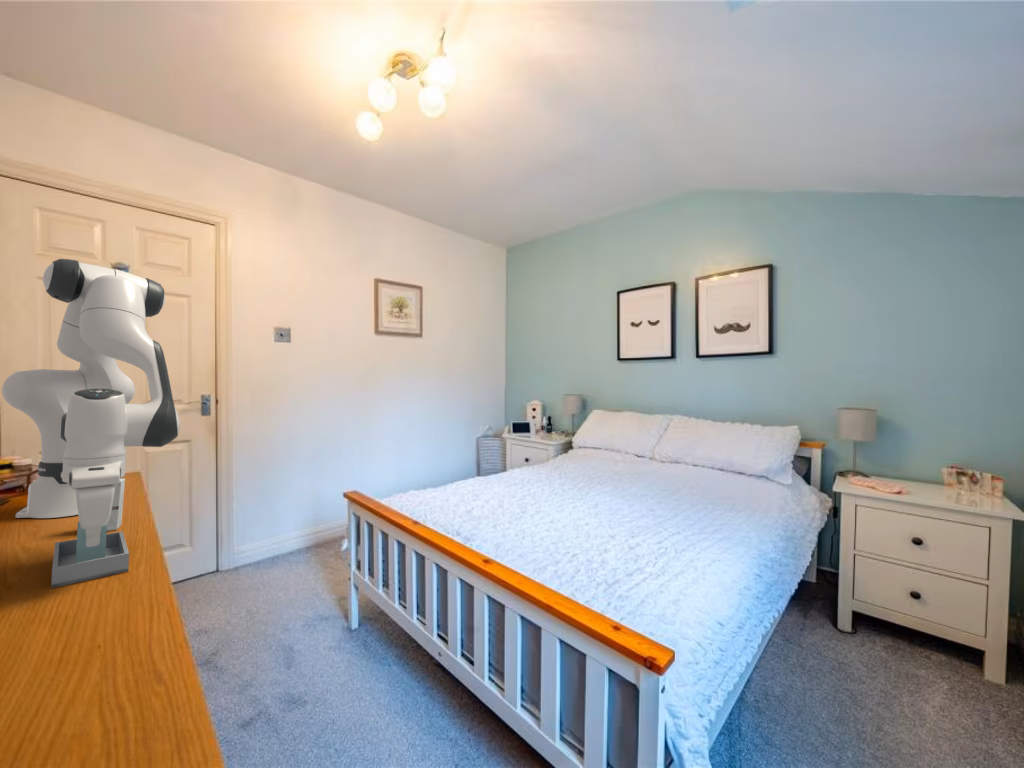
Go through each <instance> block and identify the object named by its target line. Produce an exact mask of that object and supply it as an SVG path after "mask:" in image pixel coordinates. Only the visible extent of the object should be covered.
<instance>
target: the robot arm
mask: <svg viewBox="0 0 1024 768" xmlns="http://www.w3.org/2000/svg"><path fill="white" fill-rule="evenodd" d="M42 277H43V278H42V282H43V285H44V287H45V291H46V293H47V295H49V296H50V297H51V298H53V299H56V300H58V301H60V302H63V303H67V304H68V305H67V306H66V310H65V312H64V314H63V315H64V316H63V319H62V322H61V326H60V329H59V334H58V338H57V341H56V345H57V349H58V350H59V351H60V353H61V354H62V355H64V356H65V357H67V358H70V359H71V360H73V361H76V362H77V363H79V364H80V365H79V368H78V369H75V370H74V369H73V370H69V369H45V368H41V369H39V368H38V369H30V370H22V371H15V372H13V373H12V374H11V375H9V376H8V377H7V378H6V379H5V381H4V382H3V385H2V388H1V392H2V393H1V394H2V396H3V399H4V400H5V402H6V403H7V404H8V405H10V406H11V407H13V408H14V409H16V410H18V411H21V413H24V414H25V415H27V417H29V418H30V419H31V420H32V421H33V422H34V423H35V425H36V427H37V429H38V430H39V433H40V443H41V444H40V445H41V460H40V461H39V462H38V465H37V475H38V477H37V479H35V480H34V481H33V482H31V483H30V484H29V485H28V488H27V500H26V503H27V504H26V506H25V507H23V508H22V509H21V510H19V511H17V512H16V513H15V518H17V519H20V518H21V519H22V518H23V519H24V518H32V519H52V518H53V519H55V518H64V517H70V516H71V517H73V516H78V522H79V523H80V527H81V528H82V529H86V546H87V547H92V546H97V545H99V541H100V533H101V528H102V526H105V525H107V524H108V522H109V518H110V514H111V509H112V504H113V498H114V493H115V487H116V484H119V483H120V479H121V478H124V476H126V463H127V462H126V461H127V460H126V459H127V449H126V448H127V447H144V448H145V447H146V448H148V447H151V448H162V447H164V446H166V445H167V444H169V443H171V442H173V441H174V440H175V439H177V437H178V434H180V429H181V420H180V416H179V413H178V410H177V408H176V406H175V403H174V398H173V391H172V386H171V380H170V376H169V371H168V366H167V363H166V358H165V354H164V353H165V352H164V350H163V348H162V345H161V344H160V342H158V341H156V340H154V339H152V338H151V336H150V335H149V333H147V329H146V318H152V317H155V316H156V315H158V314H159V313H160V312H161V310H162V309H163V308H164V306H165V304H166V294H165V289H164V287H163V286H162V285H161V283H159V282H157V281H155V280H153V279H150V278H148V277H141V276H138V275H136V274H133V273H131V272H126V271H123V270H120V269H116V268H109V267H107V266H106V267H105V266H100V265H96V264H91V263H86V262H79V260H75V259H69V258H67V259H66V258H58V259H56V260H53V261H52V263H51V264H49V266H47V267H46V269H45V270H44V272H43V276H42ZM117 360H118V361H121V362H124V363H127V364H130V365H132V366H135V367H136V368H138V369H140V370H141V371H143V372H144V374H145V375H146V378H147V379H146V380H147V384H148V389H149V395H150V399H151V400H150V401H149V402H146V403H130V402H131V401H132V400H133V398H134V397H135V394H136V387H135V384H134V383H135V382H134V381H133V380H132V379H131V378H130V377H129V376H128V375H127V374H126V373H124V372H123V371H122V370H121V369H120V367H119V366H118V363H117Z"/></svg>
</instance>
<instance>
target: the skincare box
mask: <svg viewBox="0 0 1024 768" xmlns="http://www.w3.org/2000/svg"><path fill="white" fill-rule="evenodd" d="M125 483H126V478H125V477H122V478H121V479H120V483H119V484H116V487H115V493H114V498H113V504H112V509H111V514H110V518H109V522H108V524H107V532H108V531H116V530H118V529H119V528H121V527H120V526H121V525H122V523H123V522H122V520H123V510H124V509H123V507H124V494H125V486H126V484H125Z"/></svg>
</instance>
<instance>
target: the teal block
mask: <svg viewBox="0 0 1024 768" xmlns="http://www.w3.org/2000/svg"><path fill="white" fill-rule="evenodd" d="M76 532H77V533H76V539H77V547H76V563H78V562H83V561H88V560H93V559H98V558H103V557H105V553H106V534H108V533H107V532H108V531H107V525H105V526H102V528H101V533H100V541H99V545H97V546H92V547H87V546H86V529H82V528H81V527H80V523H79V521H77V530H76Z"/></svg>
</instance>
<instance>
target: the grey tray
mask: <svg viewBox="0 0 1024 768" xmlns="http://www.w3.org/2000/svg"><path fill="white" fill-rule="evenodd" d="M76 547H77V538H73V539H71V540H64V541H62V540H61V541H58V542H57V541H56V542H54V548H53V549H54V550H53V559H52V568H51V586H50V589H55V588H59V587H64V586H68V585H73V584H77V583H81V582H82V583H83V582H86V581H91V580H96V579H99V578H104V577H108V576H113V575H117V574H121V573H125V572H126V573H127V572H129V563H130V562H129V561H130V552H129V549H128V544H127V542H126V539H125V534H124V531H122V530H121V531H117V532H116V531H115V532H111V533H106V553H105V557H103V558H98V559H93V560H88V561H83V562H78V563H76Z"/></svg>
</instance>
